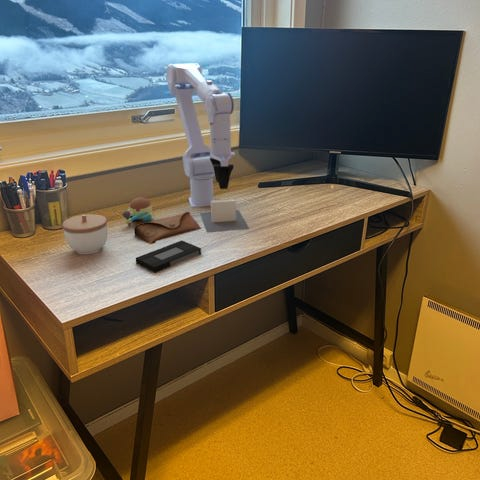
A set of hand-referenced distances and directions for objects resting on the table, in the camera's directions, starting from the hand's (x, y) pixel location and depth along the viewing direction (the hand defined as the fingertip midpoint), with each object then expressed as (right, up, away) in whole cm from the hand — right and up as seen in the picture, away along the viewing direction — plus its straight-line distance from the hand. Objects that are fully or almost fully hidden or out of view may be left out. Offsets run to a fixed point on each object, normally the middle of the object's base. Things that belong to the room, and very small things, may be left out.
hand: (221, 184), depth 140 cm
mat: (0, -11, 0) cm, 11 cm away
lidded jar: (-33, -19, -17) cm, 42 cm away
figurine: (-25, -11, +2) cm, 28 cm away
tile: (0, -10, 0) cm, 10 cm away
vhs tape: (-12, -21, -22) cm, 33 cm away
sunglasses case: (-14, -15, -6) cm, 21 cm away
